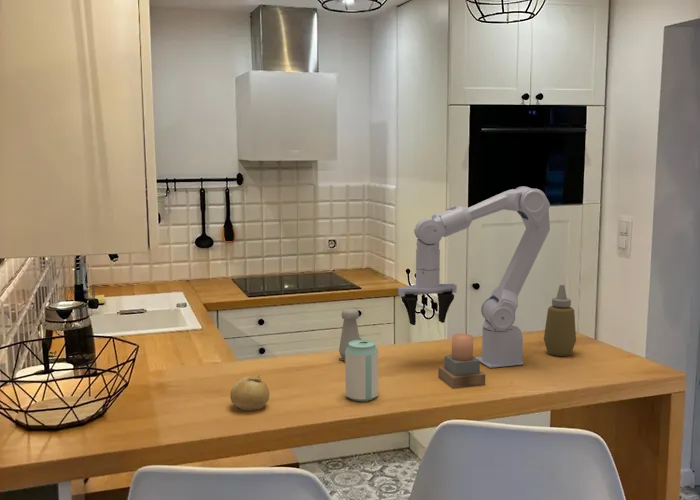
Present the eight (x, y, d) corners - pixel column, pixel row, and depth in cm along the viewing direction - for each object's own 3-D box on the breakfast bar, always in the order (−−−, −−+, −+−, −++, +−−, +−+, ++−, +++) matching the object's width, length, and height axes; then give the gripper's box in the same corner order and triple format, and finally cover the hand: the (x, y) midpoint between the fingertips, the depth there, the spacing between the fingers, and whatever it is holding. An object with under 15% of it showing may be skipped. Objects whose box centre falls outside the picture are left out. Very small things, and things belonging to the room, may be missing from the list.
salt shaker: (362, 356, 183) (362, 306, 181) (361, 363, 177) (361, 312, 175) (340, 355, 183) (339, 306, 181) (337, 362, 178) (337, 311, 176)
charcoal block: (468, 365, 167) (468, 353, 167) (479, 373, 161) (479, 360, 161) (444, 368, 165) (444, 355, 165) (455, 376, 160) (455, 363, 159)
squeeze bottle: (579, 351, 186) (582, 284, 183) (570, 360, 179) (573, 289, 176) (548, 347, 190) (550, 280, 187) (539, 355, 183) (541, 286, 180)
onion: (233, 416, 144) (232, 382, 143) (228, 402, 151) (227, 370, 150) (272, 412, 146) (272, 378, 145) (266, 398, 154) (265, 367, 152)
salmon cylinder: (464, 353, 166) (465, 332, 166) (476, 359, 162) (477, 338, 161) (447, 356, 164) (448, 335, 163) (459, 361, 160) (460, 340, 159)
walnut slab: (469, 376, 169) (469, 363, 168) (485, 387, 161) (485, 374, 161) (438, 379, 167) (438, 367, 166) (452, 390, 159) (452, 377, 159)
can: (341, 393, 156) (340, 340, 154) (370, 389, 159) (370, 337, 157) (352, 404, 150) (352, 349, 148) (383, 400, 152) (383, 345, 150)
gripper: (448, 264, 179) (447, 316, 181) (393, 267, 175) (393, 321, 177) (460, 268, 172) (459, 323, 174) (404, 272, 168) (403, 328, 170)
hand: (427, 322), depth 175 cm, fingers open, 7 cm apart
